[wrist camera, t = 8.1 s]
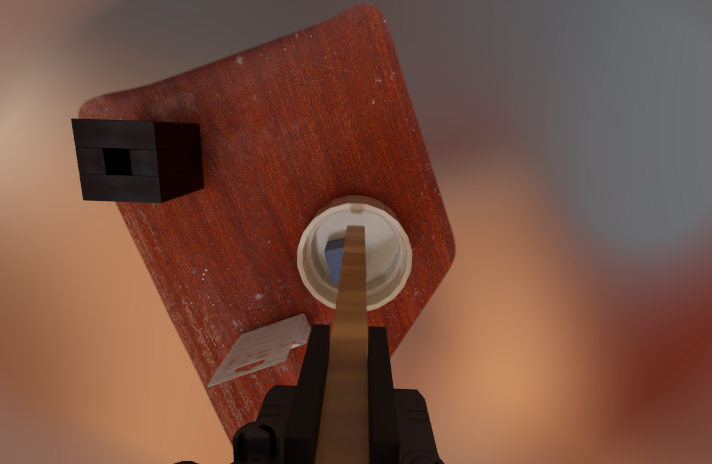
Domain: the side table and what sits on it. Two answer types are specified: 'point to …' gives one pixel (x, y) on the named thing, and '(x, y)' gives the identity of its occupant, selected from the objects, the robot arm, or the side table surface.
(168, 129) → the stand
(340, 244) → the block
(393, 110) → the side table surface
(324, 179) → the side table surface
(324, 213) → the bowl
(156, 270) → the side table surface
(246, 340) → the ink box
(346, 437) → the stick
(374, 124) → the side table surface
